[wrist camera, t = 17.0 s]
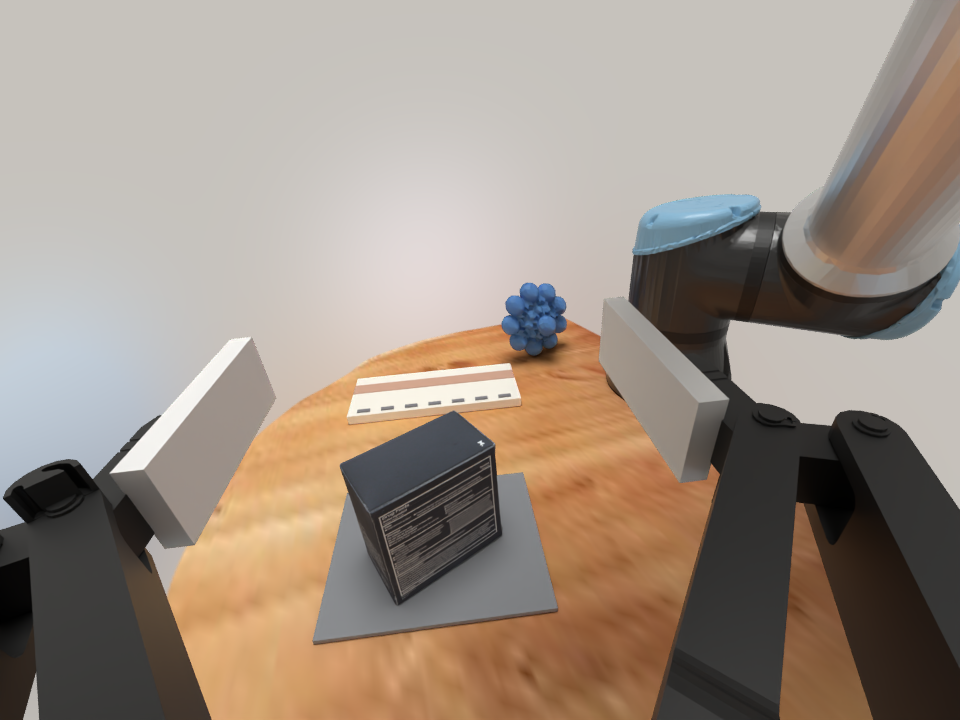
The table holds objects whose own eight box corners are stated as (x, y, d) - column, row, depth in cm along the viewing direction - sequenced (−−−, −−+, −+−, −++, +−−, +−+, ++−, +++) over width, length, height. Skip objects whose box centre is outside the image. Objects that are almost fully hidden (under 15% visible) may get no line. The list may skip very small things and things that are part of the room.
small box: (464, 491, 42) (454, 405, 36) (505, 535, 37) (500, 443, 32) (363, 549, 37) (335, 459, 31) (396, 609, 32) (369, 515, 27)
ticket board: (510, 370, 62) (509, 361, 61) (521, 405, 54) (521, 396, 53) (359, 385, 61) (357, 377, 60) (348, 424, 53) (346, 415, 52)
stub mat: (523, 475, 44) (523, 472, 43) (557, 611, 31) (557, 608, 31) (348, 495, 43) (347, 493, 42) (313, 644, 30) (312, 641, 30)
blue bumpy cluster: (520, 378, 60) (519, 299, 54) (495, 359, 65) (491, 285, 59) (582, 354, 64) (587, 279, 59) (554, 338, 70) (556, 268, 64)
